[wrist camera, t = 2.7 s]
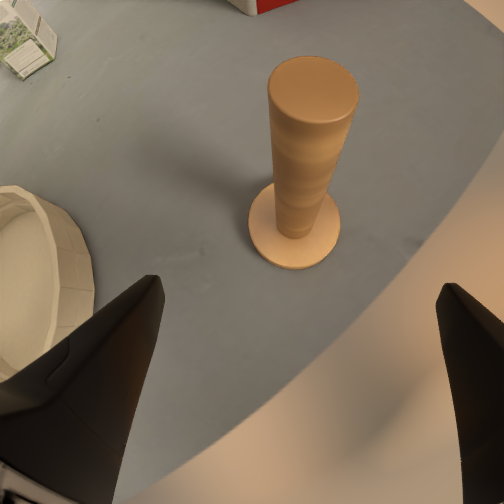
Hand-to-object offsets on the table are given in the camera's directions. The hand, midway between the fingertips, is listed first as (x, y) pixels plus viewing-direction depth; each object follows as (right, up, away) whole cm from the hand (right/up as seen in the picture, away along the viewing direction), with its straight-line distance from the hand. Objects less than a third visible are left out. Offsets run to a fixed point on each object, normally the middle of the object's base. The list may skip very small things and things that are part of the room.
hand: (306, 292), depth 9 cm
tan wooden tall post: (+1, +3, +12) cm, 13 cm away
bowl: (-21, -2, +13) cm, 25 cm away
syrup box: (-29, +26, +19) cm, 43 cm away
